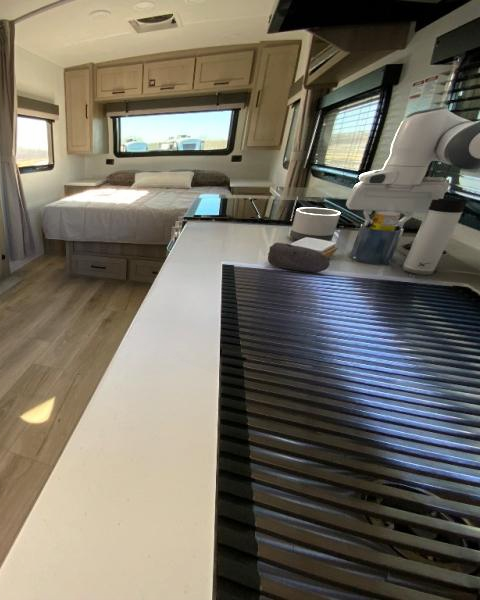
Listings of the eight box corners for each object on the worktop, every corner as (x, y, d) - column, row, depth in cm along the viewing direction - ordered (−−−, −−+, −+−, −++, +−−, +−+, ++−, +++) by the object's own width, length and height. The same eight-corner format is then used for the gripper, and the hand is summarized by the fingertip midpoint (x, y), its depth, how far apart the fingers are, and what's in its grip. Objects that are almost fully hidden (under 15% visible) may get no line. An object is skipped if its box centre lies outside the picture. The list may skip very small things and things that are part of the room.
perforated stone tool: (327, 272, 93) (335, 248, 90) (325, 278, 89) (333, 253, 86) (268, 261, 101) (273, 239, 98) (264, 267, 97) (269, 244, 94)
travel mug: (423, 277, 88) (459, 200, 79) (396, 268, 94) (427, 195, 85) (439, 274, 90) (477, 198, 81) (412, 266, 95) (444, 194, 86)
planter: (280, 238, 123) (288, 209, 118) (304, 234, 127) (312, 206, 122) (314, 247, 112) (323, 216, 107) (339, 242, 116) (349, 212, 112)
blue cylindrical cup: (384, 256, 103) (397, 224, 98) (394, 266, 95) (409, 232, 91) (346, 252, 107) (357, 221, 102) (353, 262, 99) (365, 229, 95)
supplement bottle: (364, 235, 101) (376, 201, 97) (387, 237, 99) (401, 202, 95) (368, 240, 97) (381, 204, 92) (392, 242, 95) (407, 206, 90)
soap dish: (301, 250, 110) (305, 235, 107) (335, 258, 102) (340, 242, 100) (283, 258, 103) (287, 243, 101) (318, 267, 96) (323, 250, 94)
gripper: (447, 176, 89) (424, 227, 95) (353, 174, 97) (338, 221, 103) (458, 178, 84) (434, 232, 90) (358, 176, 92) (342, 226, 98)
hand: (382, 226), depth 96 cm, fingers closed on supplement bottle, 5 cm apart
